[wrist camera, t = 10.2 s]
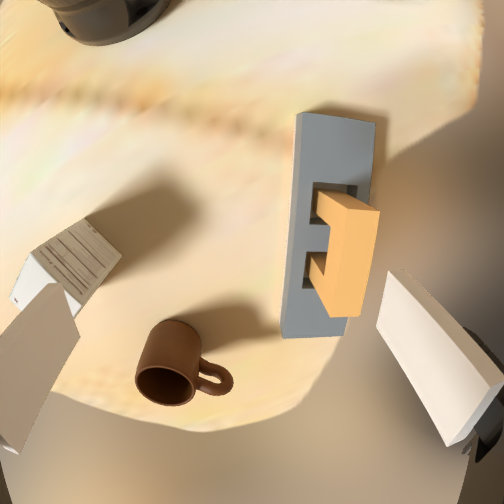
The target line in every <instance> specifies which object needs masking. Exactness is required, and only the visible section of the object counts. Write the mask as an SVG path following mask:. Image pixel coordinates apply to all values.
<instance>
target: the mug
mask: <svg viewBox="0 0 504 504" xmlns="http://www.w3.org/2000/svg"><path fill="white" fill-rule="evenodd" d="M199 372H201V373H202V374H205V375H208V376H214V377H216V378H218V379H219V380H220V381H221V383H220V384H217V383H213V382H211V381H208V380H206V379H204V378H201V377H199V376H198V375H199ZM233 383H234V382H233V377H232V375H231V374H230V372H229V371H228V370H227V369H225V368H224V367H222V366H220V365H217V364H213V363H209V362H208V361H206V360H204V359H203V358H202V357H201V341H200V338H199V336H198V334H197V333H196V331H195V330H194V329H193V328H191V327H190V326H189V325H187V324H185V323H182V322H179V321H164V322H161V323H159V324H157V325H156V326H155V327H154V328H153V329H152V330H151V332H150V334H149V336H148V339H147V342H146V344H145V347H144V349H143V352H142V355H141V357H140V360H139V363H138V366H137V371H136V375H135V384H136V387H137V389H138V390H139V392H140V393H141V394H142V395H143V396H144V397H146V398H147V399H149V400H150V401H152V402H154V403H157V404H160V405H164V406H180V405H183V404H186V403H188V402H189V401H190V400H191V399H192V398H193V397H194V395H195V392H196V390H200V391H202V392H204V393H207V394H209V395H213V396H220V395H225V394H227V393H228V392H230V390H231V389H232V387H233Z"/></svg>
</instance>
